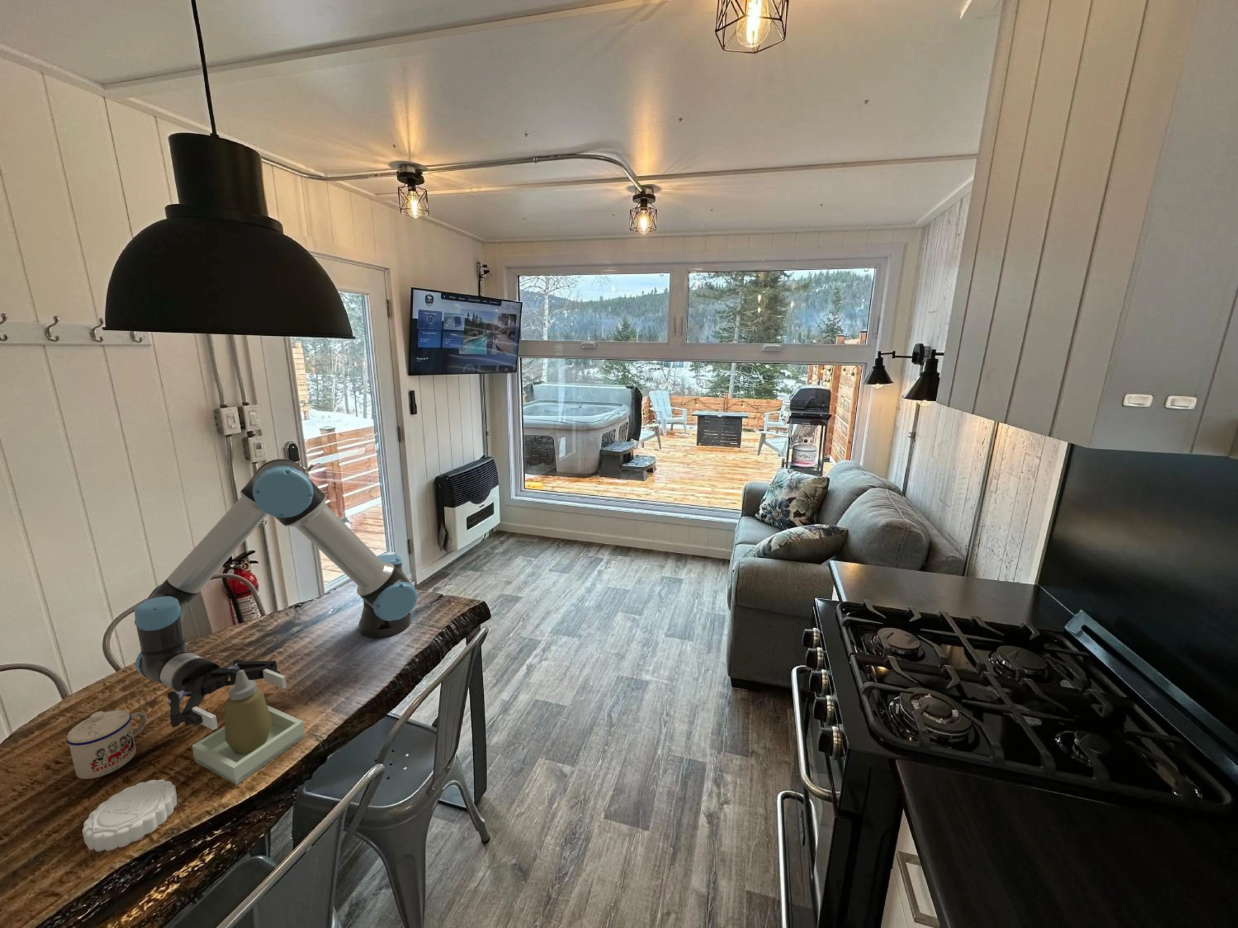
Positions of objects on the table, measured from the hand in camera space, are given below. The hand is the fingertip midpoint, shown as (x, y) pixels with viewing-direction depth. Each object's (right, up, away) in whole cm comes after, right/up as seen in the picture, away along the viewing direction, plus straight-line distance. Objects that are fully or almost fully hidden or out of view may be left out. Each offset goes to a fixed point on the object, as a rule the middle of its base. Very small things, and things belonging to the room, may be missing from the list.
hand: (251, 701), depth 101 cm
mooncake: (-12, -16, -13) cm, 23 cm away
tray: (-3, -12, +3) cm, 13 cm away
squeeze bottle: (-3, -11, +3) cm, 12 cm away
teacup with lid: (-29, -12, 0) cm, 31 cm away
